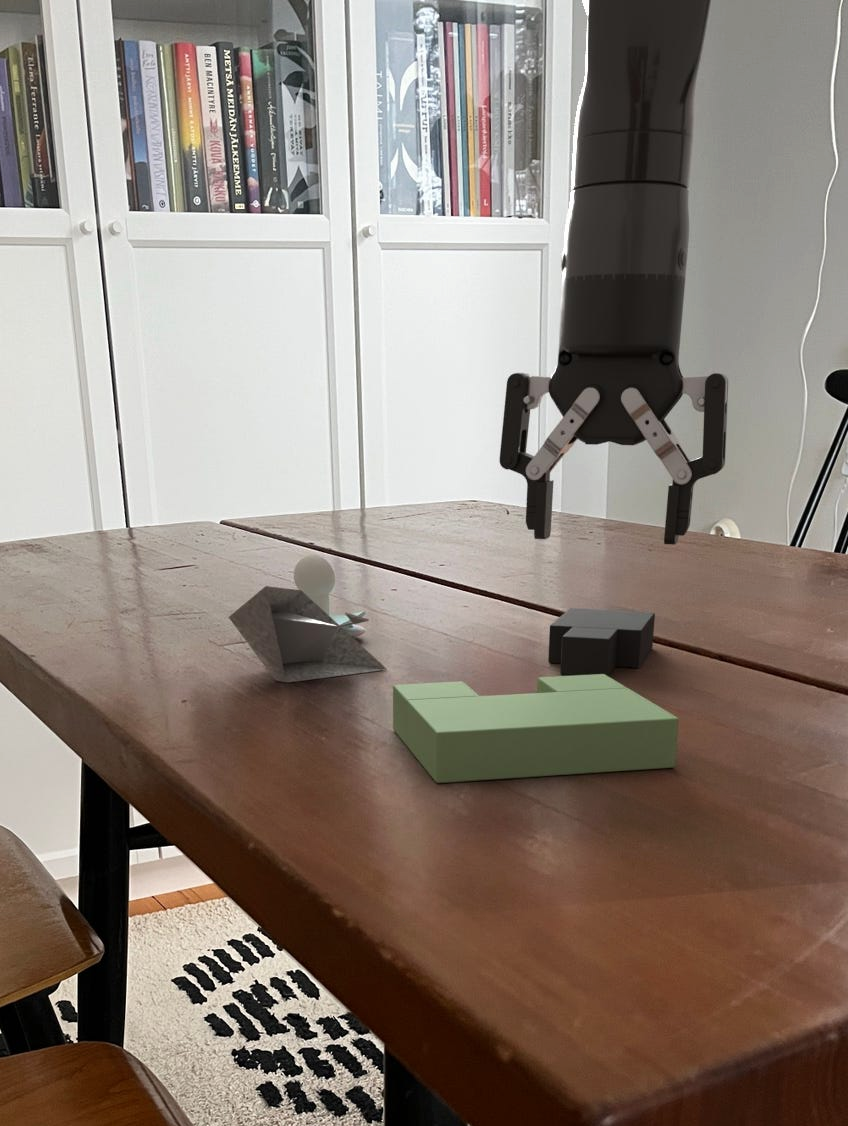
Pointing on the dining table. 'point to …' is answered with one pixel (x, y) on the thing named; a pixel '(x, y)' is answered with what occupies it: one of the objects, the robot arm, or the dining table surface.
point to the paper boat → (300, 637)
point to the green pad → (533, 729)
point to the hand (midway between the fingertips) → (605, 540)
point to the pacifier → (322, 588)
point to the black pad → (600, 640)
